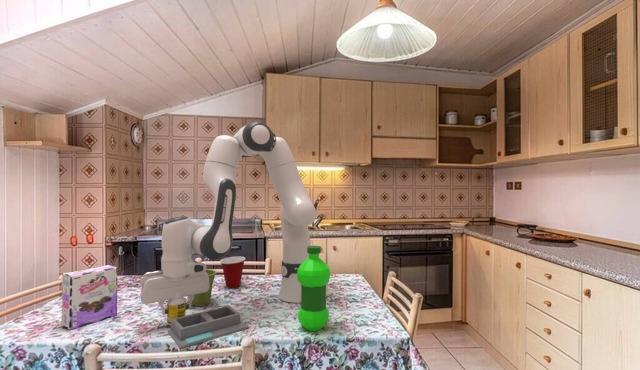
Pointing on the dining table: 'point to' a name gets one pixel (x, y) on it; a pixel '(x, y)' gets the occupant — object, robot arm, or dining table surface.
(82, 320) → the candy box
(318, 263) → the plastic bottle
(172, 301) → the supplement bottle
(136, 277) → the dining table surface
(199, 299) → the plant pot
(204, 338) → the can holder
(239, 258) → the plastic cup
